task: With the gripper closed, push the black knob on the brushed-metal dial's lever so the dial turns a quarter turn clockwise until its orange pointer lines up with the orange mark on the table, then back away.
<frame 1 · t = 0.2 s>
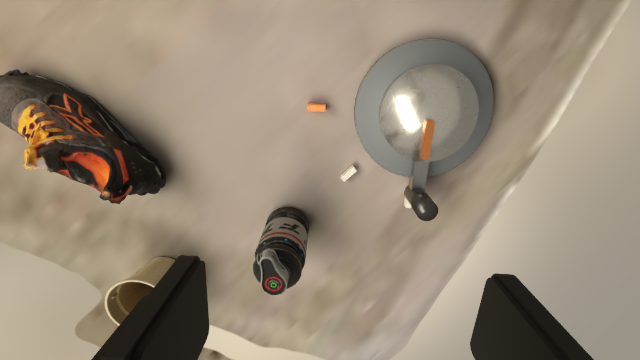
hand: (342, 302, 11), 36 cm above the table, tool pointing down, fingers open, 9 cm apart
flower pot: (167, 271, 54), on the table
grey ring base: (419, 111, 44), on the table
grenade: (288, 222, 50), on the table
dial: (428, 142, 40), point 6 cm above the table, hinge at 0.0°
athletic shoe: (94, 132, 46), on the table
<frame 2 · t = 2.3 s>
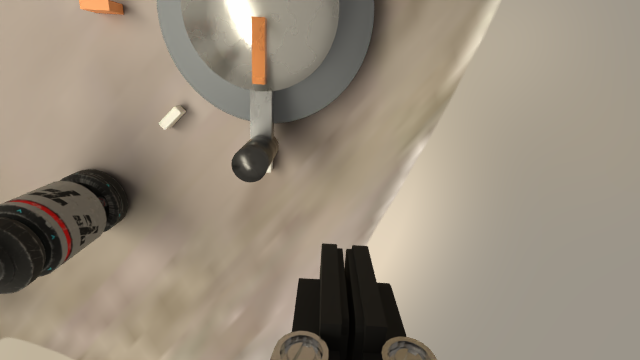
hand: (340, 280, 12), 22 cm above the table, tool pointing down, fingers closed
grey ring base: (269, 18, 29), on the table
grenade: (101, 194, 35), on the table
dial: (257, 53, 24), point 6 cm above the table, hinge at 0.0°
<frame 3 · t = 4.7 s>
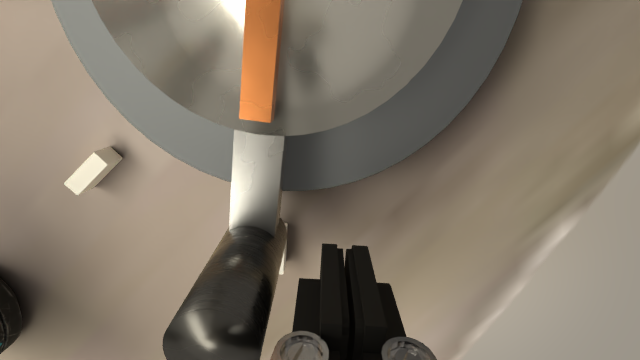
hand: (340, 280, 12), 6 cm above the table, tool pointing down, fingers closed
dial: (257, 44, 9), point 6 cm above the table, hinge at -3.6°, touching gripper
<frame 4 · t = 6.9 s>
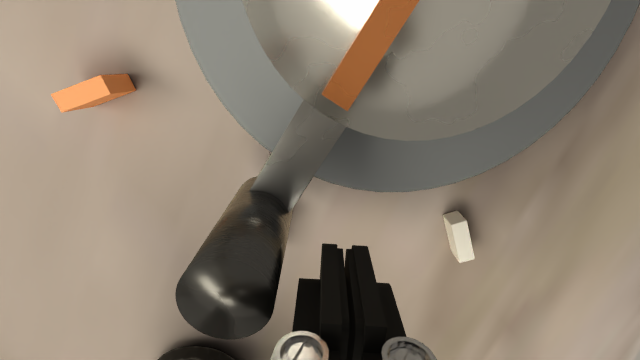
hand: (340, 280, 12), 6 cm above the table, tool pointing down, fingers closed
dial: (376, 38, 9), point 6 cm above the table, hinge at -50.9°, touching gripper
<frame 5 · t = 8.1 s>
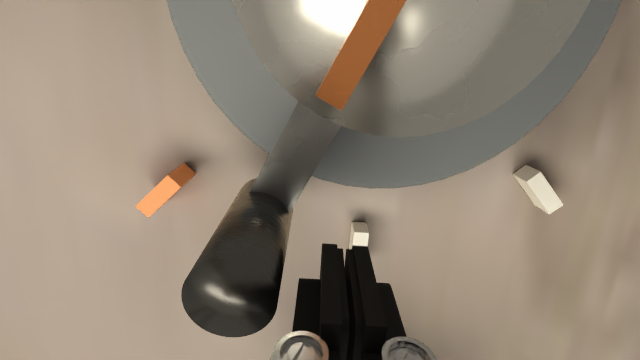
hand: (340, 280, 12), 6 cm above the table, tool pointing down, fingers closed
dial: (366, 38, 10), point 6 cm above the table, hinge at -71.3°, touching gripper
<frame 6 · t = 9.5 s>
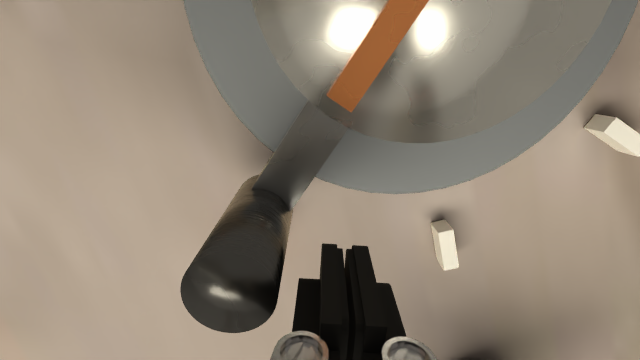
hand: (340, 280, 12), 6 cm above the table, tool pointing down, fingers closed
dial: (382, 42, 10), point 6 cm above the table, hinge at -93.5°, touching gripper
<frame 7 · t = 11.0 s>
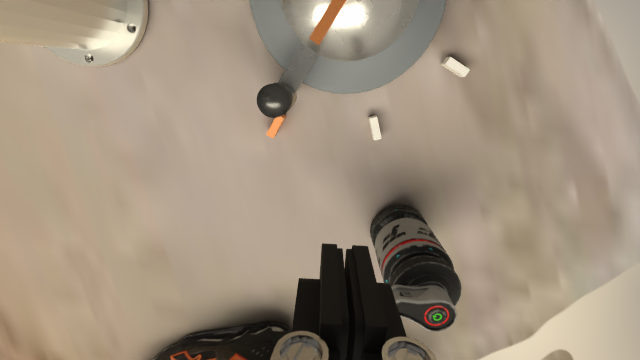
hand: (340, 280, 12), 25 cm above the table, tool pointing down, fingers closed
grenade: (394, 226, 39), on the table
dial: (328, 16, 27), point 6 cm above the table, hinge at -93.5°
athletic shoe: (219, 350, 46), on the table
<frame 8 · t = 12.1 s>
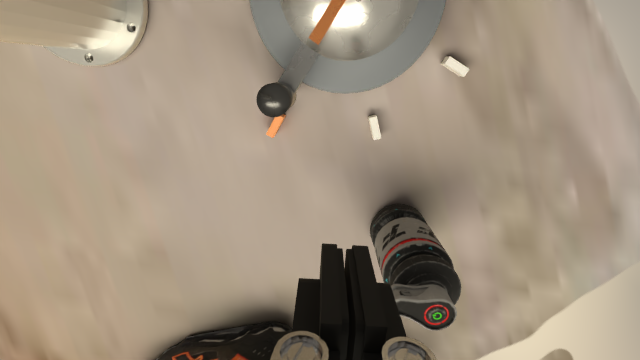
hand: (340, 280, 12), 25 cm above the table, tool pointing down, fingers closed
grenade: (394, 225, 39), on the table
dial: (328, 16, 27), point 6 cm above the table, hinge at -93.5°
athletic shoe: (220, 351, 46), on the table
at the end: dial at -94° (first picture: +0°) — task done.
